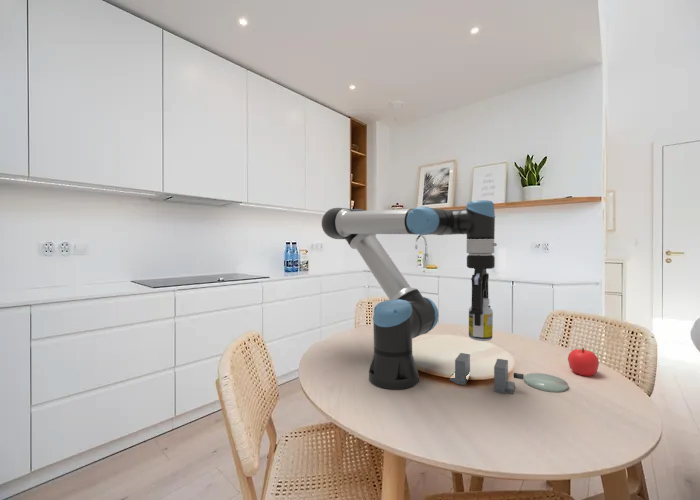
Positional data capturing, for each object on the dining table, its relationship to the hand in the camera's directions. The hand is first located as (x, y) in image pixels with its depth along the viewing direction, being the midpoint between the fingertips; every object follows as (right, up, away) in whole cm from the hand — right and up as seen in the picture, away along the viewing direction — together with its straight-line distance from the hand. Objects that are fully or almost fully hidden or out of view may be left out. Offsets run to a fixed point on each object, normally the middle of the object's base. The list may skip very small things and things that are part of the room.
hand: (480, 333), depth 96 cm
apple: (+35, -14, +7) cm, 38 cm away
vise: (+1, -15, 0) cm, 15 cm away
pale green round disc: (+19, -15, 0) cm, 24 cm away
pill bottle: (0, -2, 0) cm, 2 cm away
